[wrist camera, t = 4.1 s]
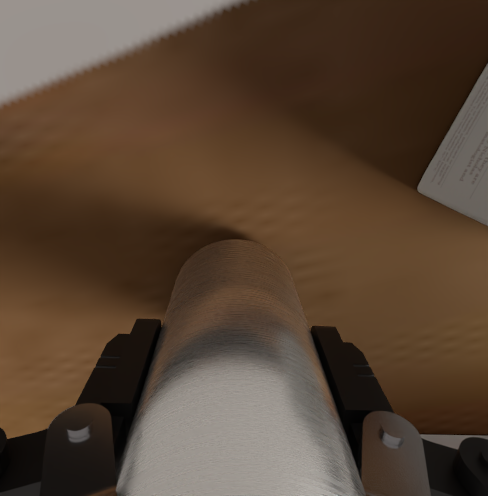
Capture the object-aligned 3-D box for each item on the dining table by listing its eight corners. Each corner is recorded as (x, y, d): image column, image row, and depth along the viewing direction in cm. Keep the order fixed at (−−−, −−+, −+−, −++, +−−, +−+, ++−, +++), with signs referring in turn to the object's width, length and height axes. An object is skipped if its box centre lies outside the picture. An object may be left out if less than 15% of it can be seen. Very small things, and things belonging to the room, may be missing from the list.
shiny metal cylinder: (301, 242, 14) (427, 499, 5) (286, 346, 16) (360, 672, 7) (174, 235, 14) (64, 494, 5) (174, 341, 16) (95, 675, 7)
